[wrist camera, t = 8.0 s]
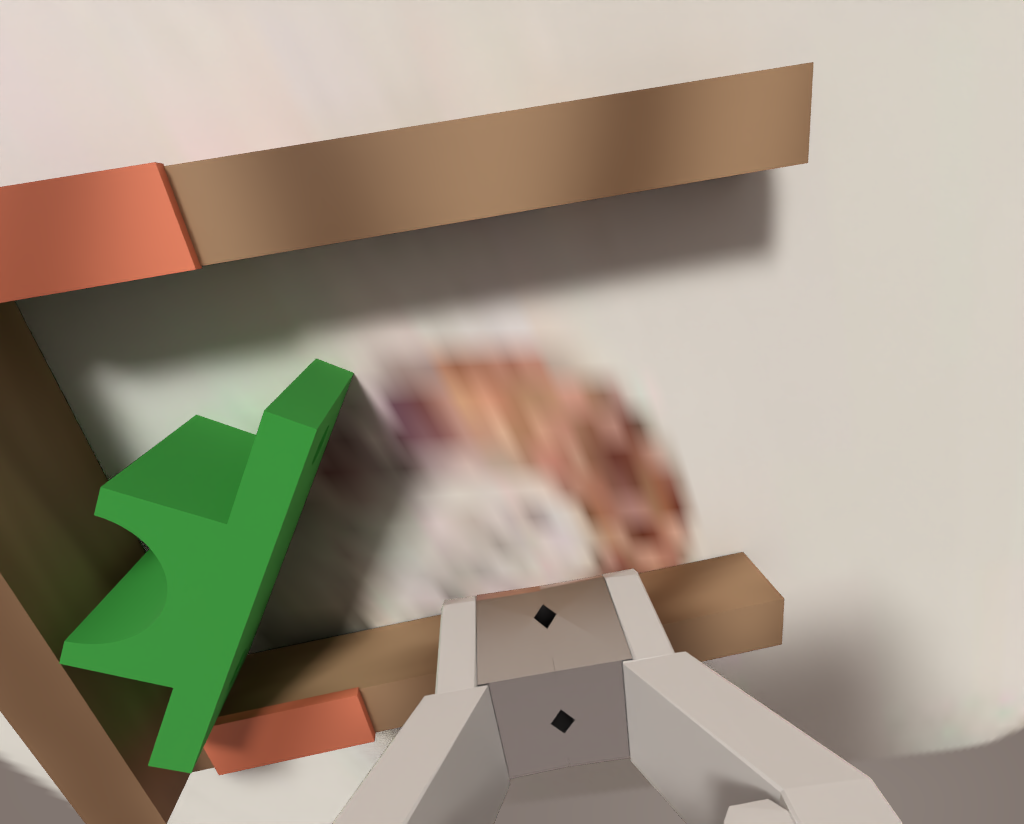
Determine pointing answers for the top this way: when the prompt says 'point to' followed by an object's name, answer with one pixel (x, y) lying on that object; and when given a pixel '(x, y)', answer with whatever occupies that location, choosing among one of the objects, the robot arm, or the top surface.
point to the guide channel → (274, 229)
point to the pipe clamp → (205, 554)
